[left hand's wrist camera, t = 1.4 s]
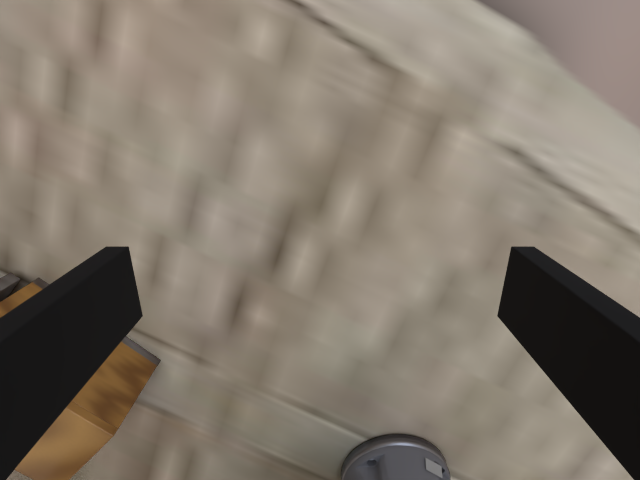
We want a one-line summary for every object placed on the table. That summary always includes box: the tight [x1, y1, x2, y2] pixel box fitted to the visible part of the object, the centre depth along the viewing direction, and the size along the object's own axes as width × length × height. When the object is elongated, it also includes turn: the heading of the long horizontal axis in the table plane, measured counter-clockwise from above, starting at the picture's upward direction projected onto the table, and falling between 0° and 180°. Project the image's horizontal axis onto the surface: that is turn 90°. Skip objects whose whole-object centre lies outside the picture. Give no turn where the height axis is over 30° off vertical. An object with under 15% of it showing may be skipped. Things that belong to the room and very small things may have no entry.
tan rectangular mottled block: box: [0, 278, 161, 480], centre depth 40 cm, size 17×11×11 cm, turn 46°
